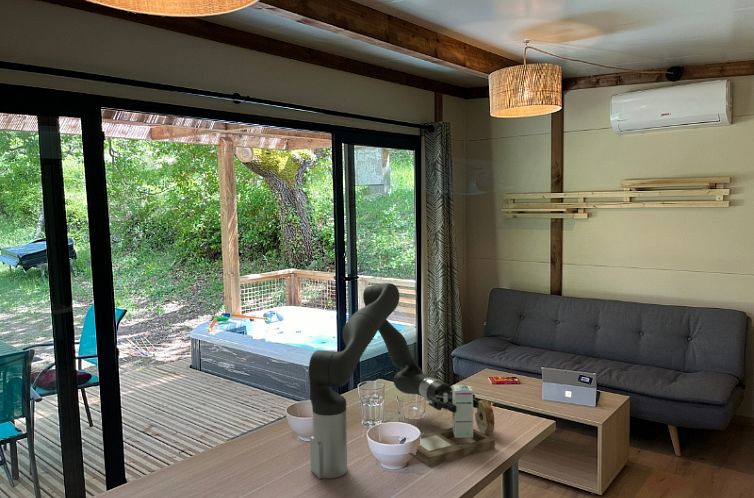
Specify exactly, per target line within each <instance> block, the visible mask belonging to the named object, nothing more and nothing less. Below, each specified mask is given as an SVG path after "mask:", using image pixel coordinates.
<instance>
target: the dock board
mask: <svg viewBox="0 0 754 498" xmlns="http://www.w3.org/2000/svg"><path fill="white" fill-rule="evenodd" d="M420 435H421V439H420V444H419V447H418V449H417V452H416V455H415V456H414V457H415V458H417V459H418V460H420V461H421V462H422V463H424V464H426V466H428V467H431V466H435V465H438V464H443V463H445V462H449V461H453V460H456V459H461V458H464V457H467V456H471V455H475V454H478V453H483V452H486V451H489V450H490V451H491V450H493V449H496V448H495V447H496V446H495V445H496V444H495V443H496V442H495V441H496V439H494V438H492V437H490V436H488V435H487V434H483V433H482V432H481V431H480V430H479V431H478V430H477V429H475V428H473V438H471V439H472V440H474V441H472V442H468V443H465V444H460V445H459V444H457V443H456V442H454V441H453V440H452V439H456V438H455V437H454V433H453V427H450V428H445V429H442V430H437V431H433V432H429V433H425V434H420Z"/></svg>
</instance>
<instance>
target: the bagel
mask: <svg viewBox="0 0 754 498" xmlns="http://www.w3.org/2000/svg"><path fill="white" fill-rule="evenodd" d="M478 401H479V407H478V408H476V412H475V413H474V418H475V421H476V425H477V428H478V429H479V432H481V433H483V434H484V435H490V434H492V433H493V432H494V431H495V415H494V409H493V407H492V405H491V403H490V402H489V401H488V400H485V399H483V400H478Z"/></svg>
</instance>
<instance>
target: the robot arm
mask: <svg viewBox="0 0 754 498" xmlns="http://www.w3.org/2000/svg"><path fill="white" fill-rule="evenodd" d="M362 299H363V303H364V307H362V308H360V309H359V310H357V311H355V313H353V314H352V315H351V316H350V318H349V319H348V320H347V322H346V323H345V325H343V329H342V339H343V342H344V345H345V348H344V350H342V351H333V350H323V349H321V350H320V349H319V350H318V349H317V350H316V351H314V352H313V353H312V354H311V357H310V358H309V359H310V360H309V363H308V364H309V365H308V381H309V394H310V395H309V396H310V403H311V408H312V409H311V410H312V436H310V438H309V439H310V444H309V445H310V449H309V450H310V471H311V472H312V473H313V474H314V475H315V476H316V477H317V478H318V480H319V479H320V480H321V479H335V478H339V477H342V476H344V475H346V474H347V472H348V437H347V436H348V435H347V434H348V431H347V427H348V425H347V400H346V398H345V397H344V395H341V394H339V393H337V392H336V391H335V390H333V388H332V387H335V388H336V387H337V388H340V387H345V385H347V383H349V381H350V379H351V377H352V376H353V374H354V372H355V370H356V368H357V365H358V364H359V362H360V359H361V358H362V356H363V354H364V352H365V351H366V349H367V347H368V346H369V345H370V344H371V342H372V341H373V339H374V338H375V336H376V334H377V333H378V332H379V334H380V336H381V338H382V340H383V342H384V344H385V347H386V349H387V351H388V354H389V357H390V360H391V363H392V365H393V366H394V367H396V368H402V367H405V368H403V369H401V370H400V371H399V372H397V373H395V375H394V377H393V384H394V387H395V388H396V389H397V391H399V392H401V393H403V394H409V395H417V396H419V395H420V397H421V396H422V397H421V398H423V397H424V398H423V399H424V400H426V401H427V402H428V405H429V406H430V407H432V408H434V409H435V410H436V411H437V410H438V411H441V410H442V409H443V410H445V411H449V412H452V414H453V413H456V405H454V404H453V387H452V386H451V385H450V384H448V383H445V382H444V381H441V380H439V379H438V378H435V377H431V376H429V375H427V374H425V373H424V372H423V371H422V368H420V365H418V363H417V362H416V360H415V358H414V357H413V356H412V353H411V350H410V349H409V345H408V342H407V340H406V338H405V336H404V335H403V334H402V333H401V332H400V331H399V330H398V329H397V328H396V327H395V326H393V324H391V322H389V320H388V317H390V316H391V315H392V313H393V312H394V311H395V310H396V309H397V308H398V305H399V302H400V292H399V289H398V287H397V286H396V285H395V284H394V283H391V282H386V283H380V284H373V285H369V286H367V287H365V289H364V291H363V295H362ZM479 401H480V400H477V399H476V395H475V394H474V393H473V409H474V408H475V409H477V408H478V407H479Z"/></svg>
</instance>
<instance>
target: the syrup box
mask: <svg viewBox="0 0 754 498" xmlns="http://www.w3.org/2000/svg"><path fill="white" fill-rule="evenodd" d="M452 390H453V404H454V405H456V413H453V412H452V428H453V433H454V437H455V438H454V439H459V438H460V439H472V438H473V429H474V407H473V394H474V390H473V389H472V386H471V385H470V384H453V385H452Z"/></svg>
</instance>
